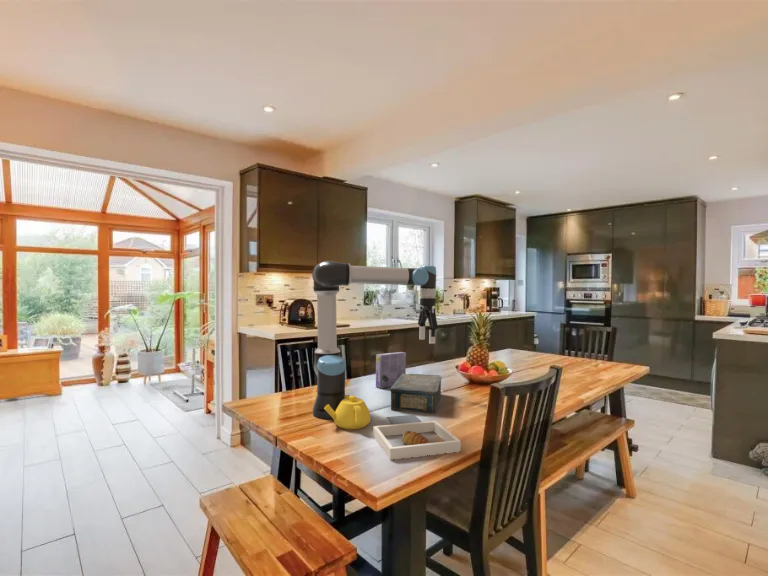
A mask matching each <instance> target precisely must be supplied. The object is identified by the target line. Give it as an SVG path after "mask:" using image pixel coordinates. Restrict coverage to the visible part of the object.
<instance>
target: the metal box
mask: <svg viewBox="0 0 768 576" xmlns="http://www.w3.org/2000/svg"><path fill="white" fill-rule="evenodd" d="M442 379H443V377H442V376H441V375H439V374H424V373H423V374H420V373H406V374H404V373H403V374H402V375H401V376H400V377H399V378H398V380H397V381H396V382H395V384H394V385H393V386H392V387H389V390H390V410H391V411H401V412H413V413H427V414H436V413H437V411H438V407H439V403H440V399H441V393H442V392H441V389H442V387H441V386H442Z"/></svg>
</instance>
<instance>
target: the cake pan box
mask: <svg viewBox="0 0 768 576" xmlns="http://www.w3.org/2000/svg"><path fill="white" fill-rule="evenodd" d="M406 366H407V352H403V351H398V352H388V353H378V354H376V355H375V388H379V389H386V388H391V387H392V386H393V385H394V384H395V382H396V381H397V380H398V378H399V377H400V376H401V375H402V374H403V373H404V374H407V371H406V369H407V368H406Z"/></svg>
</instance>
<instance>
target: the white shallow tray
mask: <svg viewBox="0 0 768 576" xmlns="http://www.w3.org/2000/svg"><path fill="white" fill-rule="evenodd" d="M372 427H373V428H372V429H373V430H372V436H373V438H374V439H375V441H376V442H377V444H378V445H379V447H380V448H381V449H382V450H383V452H384V454H385V455H386V457H388V459H389V461H393V459H395V460H402V458H404V459H409V458H410V459H411V457H413V458H418V457H419V458H420V456H421V457H427V455H428V456H429V455H430V456H437V454H438V455H445V454H444V453H447V454H454V453H453V452H456V453H460V452H459V451H461V448H462V447H461V445H462V442H461V440H460V439H459V438H457V437H456V436H455V435H454V434H452V433H451V432H450V431H449V430H447V429H446V427H444V426H442V425H441V424H440V423H439V422H437V420H429V421H422V422H416V423H405V424H393V425H392V424H386V425H373V426H372ZM406 431H411V432H416V433H419V434H421V433H422V434H423V433H430V432H434V433H435V434H436V435H437V436H438V437H439V436H440V437H439V438H441V439H442V441H437V442H429V443H426V444H417V445H407V444H406V445H400V446H399V445H398V446H393V445H392V444H391V443H390V441H389V440H388V439H387V438H386V437H388V436H390V435H391V436H399V435H400V434H401V435H404V434H405V432H406ZM401 435H400V436H401Z"/></svg>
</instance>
